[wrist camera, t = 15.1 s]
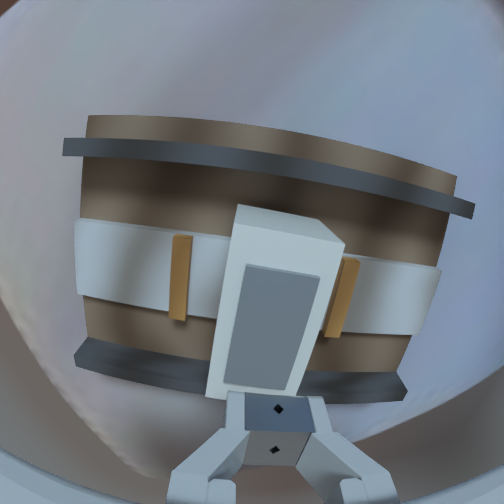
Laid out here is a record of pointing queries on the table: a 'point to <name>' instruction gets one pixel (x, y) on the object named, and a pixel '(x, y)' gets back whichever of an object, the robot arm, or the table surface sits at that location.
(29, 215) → the table surface
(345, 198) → the rail board
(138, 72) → the table surface
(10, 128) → the table surface
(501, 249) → the table surface
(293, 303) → the block
